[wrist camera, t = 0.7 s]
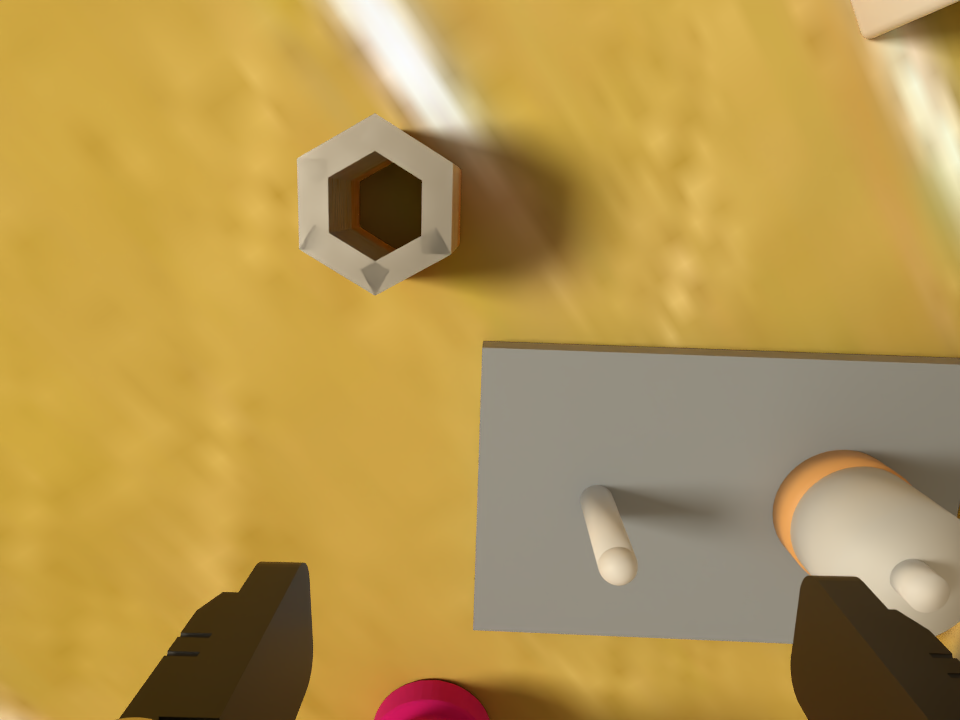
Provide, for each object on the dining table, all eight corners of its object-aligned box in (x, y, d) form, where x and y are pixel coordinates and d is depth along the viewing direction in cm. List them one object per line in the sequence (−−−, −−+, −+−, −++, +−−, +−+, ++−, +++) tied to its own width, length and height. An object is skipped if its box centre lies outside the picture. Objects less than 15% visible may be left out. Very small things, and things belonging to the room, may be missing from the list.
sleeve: (335, 276, 32) (300, 293, 27) (334, 127, 31) (295, 110, 25) (458, 280, 32) (450, 298, 27) (462, 131, 31) (454, 115, 25)
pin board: (483, 340, 33) (477, 389, 24) (964, 358, 33) (1128, 413, 24) (474, 612, 36) (466, 739, 28) (913, 631, 36) (1043, 765, 27)
